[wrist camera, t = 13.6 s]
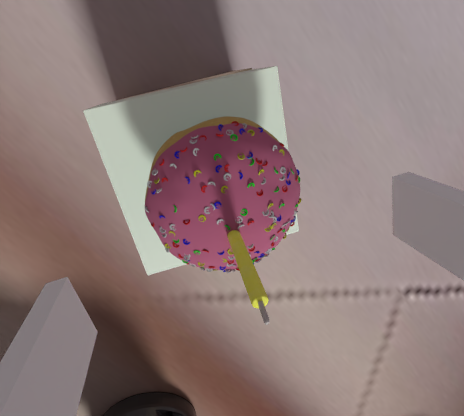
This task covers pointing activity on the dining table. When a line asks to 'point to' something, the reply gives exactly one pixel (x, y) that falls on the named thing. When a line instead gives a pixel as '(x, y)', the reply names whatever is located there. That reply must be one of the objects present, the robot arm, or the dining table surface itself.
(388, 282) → the dining table surface
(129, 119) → the tower top
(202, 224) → the cupcake
